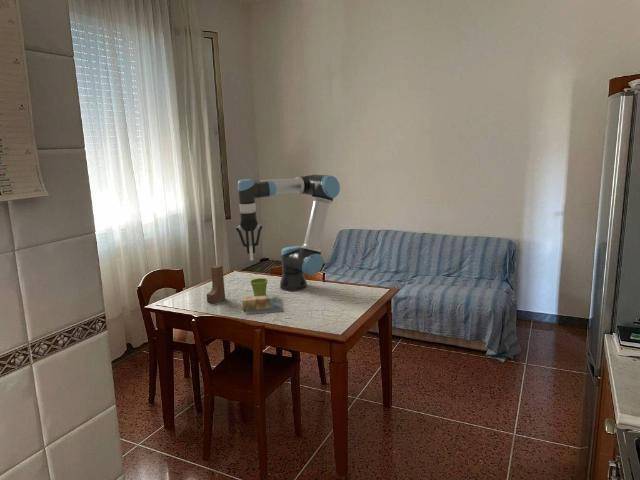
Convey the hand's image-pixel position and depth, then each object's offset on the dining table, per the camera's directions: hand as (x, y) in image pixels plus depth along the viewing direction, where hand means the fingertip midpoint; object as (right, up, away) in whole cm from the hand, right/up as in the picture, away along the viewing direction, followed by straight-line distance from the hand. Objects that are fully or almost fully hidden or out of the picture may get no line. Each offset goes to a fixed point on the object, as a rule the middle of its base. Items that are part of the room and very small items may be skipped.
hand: (251, 259), depth 228 cm
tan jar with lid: (-5, -22, +4) cm, 23 cm away
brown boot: (-22, -22, +19) cm, 36 cm away
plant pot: (+1, -21, +23) cm, 31 cm away
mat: (+6, -24, +6) cm, 25 cm away
